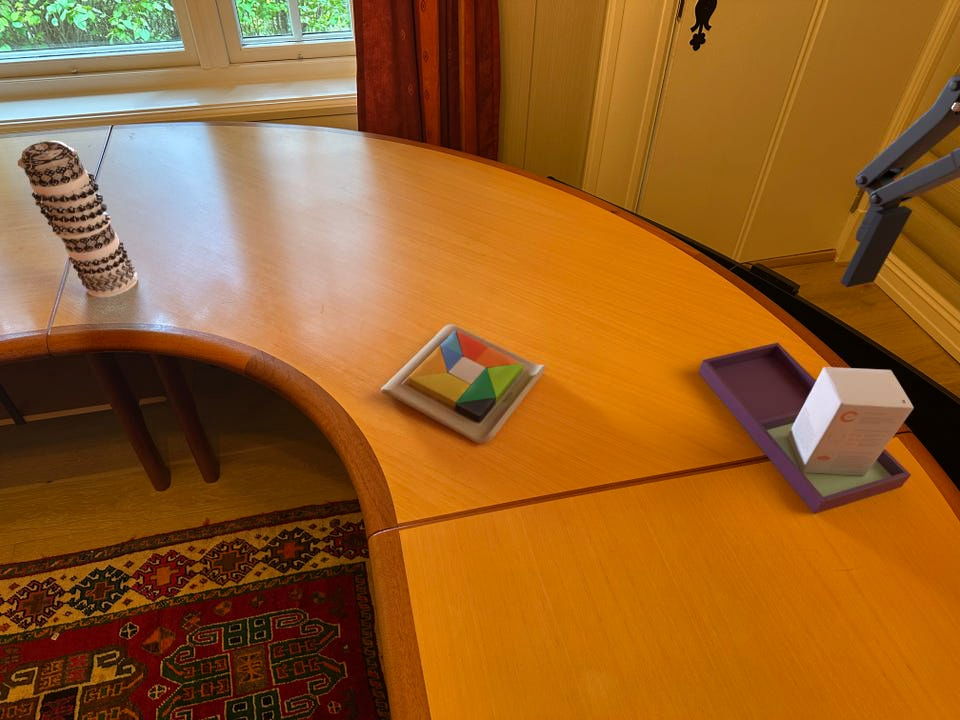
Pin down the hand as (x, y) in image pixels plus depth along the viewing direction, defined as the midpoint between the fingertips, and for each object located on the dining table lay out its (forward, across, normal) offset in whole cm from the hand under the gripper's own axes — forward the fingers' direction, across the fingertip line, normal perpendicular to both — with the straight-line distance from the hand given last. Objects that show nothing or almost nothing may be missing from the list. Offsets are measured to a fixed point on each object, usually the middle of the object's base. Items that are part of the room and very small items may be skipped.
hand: (923, 334), depth 45 cm
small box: (+34, -11, +16) cm, 39 cm away
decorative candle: (+35, -81, -78) cm, 118 cm away
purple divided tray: (+35, -17, +16) cm, 42 cm away
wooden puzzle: (+35, -38, -25) cm, 57 cm away
